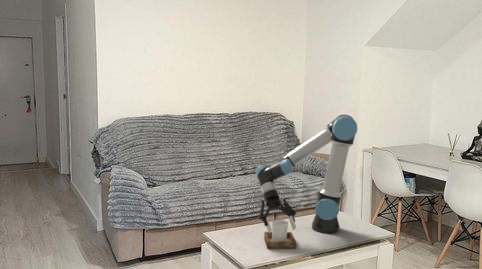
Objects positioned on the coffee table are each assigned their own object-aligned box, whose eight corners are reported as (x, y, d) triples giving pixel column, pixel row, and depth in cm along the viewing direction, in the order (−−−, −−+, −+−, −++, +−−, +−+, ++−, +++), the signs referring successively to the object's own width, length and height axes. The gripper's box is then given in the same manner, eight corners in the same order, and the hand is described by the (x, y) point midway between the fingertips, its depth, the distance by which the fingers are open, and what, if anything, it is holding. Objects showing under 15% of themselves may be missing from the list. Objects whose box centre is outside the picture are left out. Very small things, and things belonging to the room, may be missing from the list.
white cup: (275, 245, 212) (276, 225, 211) (268, 239, 219) (269, 220, 218) (289, 243, 215) (291, 224, 214) (282, 238, 222) (283, 219, 221)
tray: (291, 238, 225) (291, 232, 224) (295, 249, 211) (296, 242, 210) (264, 238, 224) (264, 231, 223) (267, 248, 210) (267, 241, 210)
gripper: (288, 194, 234) (301, 230, 222) (245, 198, 224) (257, 236, 212) (293, 187, 228) (307, 224, 217) (250, 190, 218) (262, 229, 207)
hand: (282, 230), depth 214 cm, fingers open, 13 cm apart
